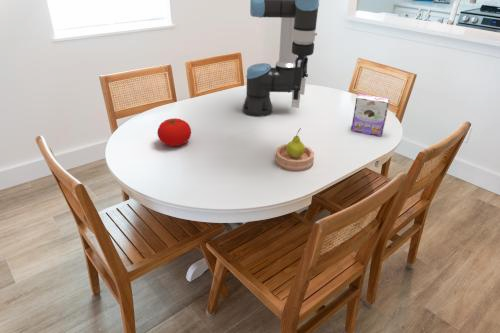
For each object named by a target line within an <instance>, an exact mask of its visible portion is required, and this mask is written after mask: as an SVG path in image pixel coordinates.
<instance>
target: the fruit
mask: <svg viewBox="0 0 500 333" xmlns="http://www.w3.org/2000/svg"><path fill="white" fill-rule="evenodd" d="M300 130H301V128H299V129H298V131H297V133H296V135H295V136H294V137H293V139H292V140H291V141H289V142H288V143H287V146H286V150H287V153H288V155H289V156H290V157H293V158H298V157H300V156H302V155H303V153H304V149H305V148H304V146H305V145H304V143H303V142H302V141H301V138H300V137H299V136H298V134H299V132H300Z"/></svg>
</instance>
